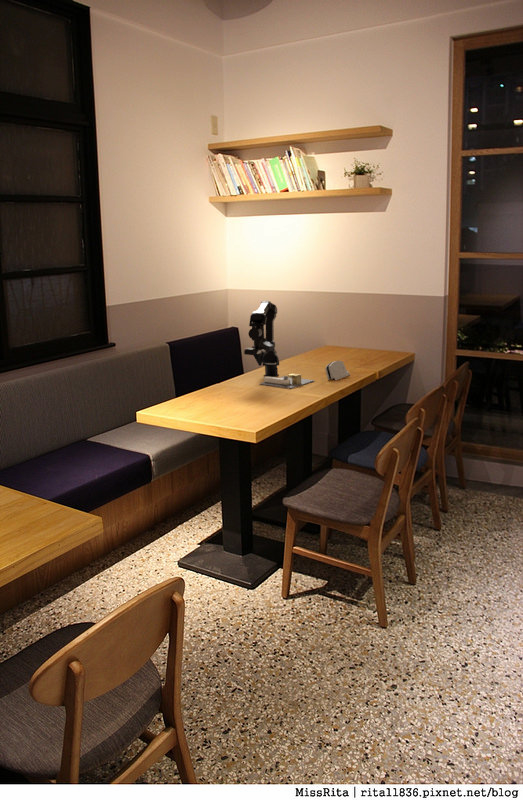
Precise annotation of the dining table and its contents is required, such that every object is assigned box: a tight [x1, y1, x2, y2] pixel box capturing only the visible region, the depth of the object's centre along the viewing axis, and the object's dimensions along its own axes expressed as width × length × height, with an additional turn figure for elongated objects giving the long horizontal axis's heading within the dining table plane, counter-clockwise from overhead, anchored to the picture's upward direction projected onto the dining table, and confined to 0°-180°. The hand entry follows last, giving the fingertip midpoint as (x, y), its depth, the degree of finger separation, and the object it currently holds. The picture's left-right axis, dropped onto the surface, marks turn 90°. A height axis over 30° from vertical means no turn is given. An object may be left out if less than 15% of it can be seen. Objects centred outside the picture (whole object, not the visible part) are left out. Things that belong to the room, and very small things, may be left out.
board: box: [259, 375, 315, 390], centre depth 371 cm, size 21×21×1 cm
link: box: [263, 375, 290, 385], centre depth 367 cm, size 16×4×4 cm, turn 50°
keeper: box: [287, 373, 302, 384], centre depth 366 cm, size 6×4×5 cm
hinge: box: [324, 360, 351, 381], centre depth 380 cm, size 17×5×10 cm, turn 145°
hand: (260, 365), depth 365 cm, fingers closed
